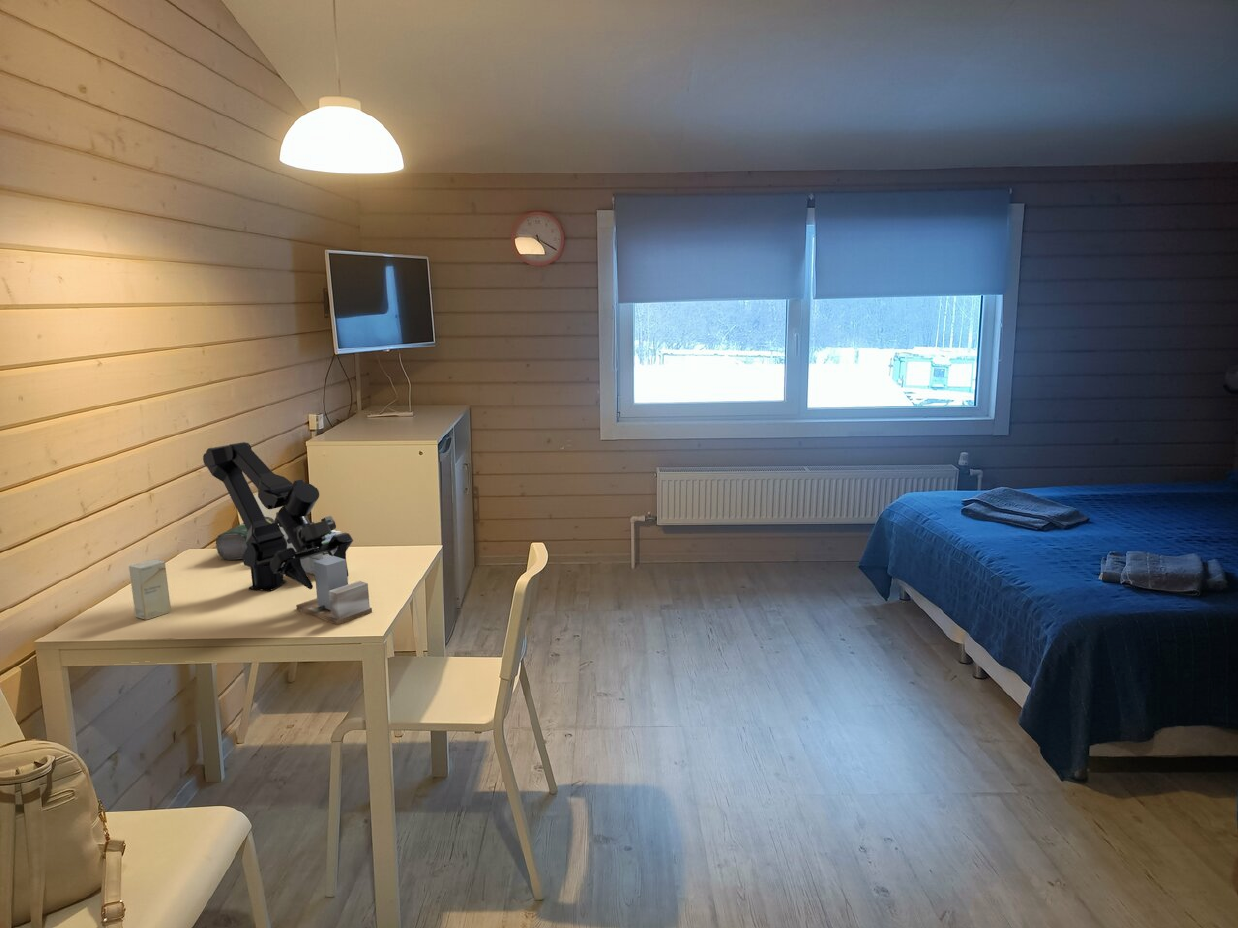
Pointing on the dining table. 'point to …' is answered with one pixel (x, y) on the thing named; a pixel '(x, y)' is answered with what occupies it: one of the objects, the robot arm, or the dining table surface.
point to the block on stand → (341, 604)
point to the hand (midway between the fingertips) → (329, 582)
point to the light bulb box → (309, 562)
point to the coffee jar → (234, 542)
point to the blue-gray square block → (329, 578)
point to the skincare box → (150, 589)
